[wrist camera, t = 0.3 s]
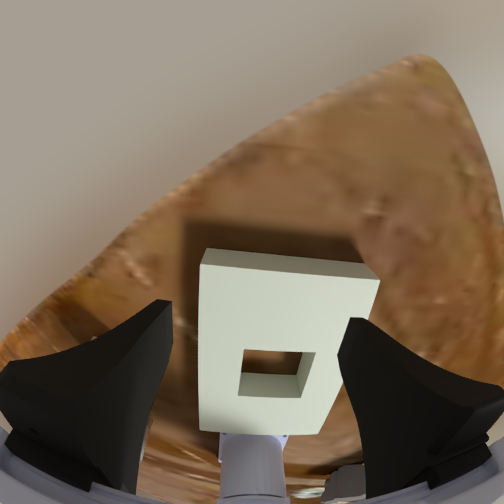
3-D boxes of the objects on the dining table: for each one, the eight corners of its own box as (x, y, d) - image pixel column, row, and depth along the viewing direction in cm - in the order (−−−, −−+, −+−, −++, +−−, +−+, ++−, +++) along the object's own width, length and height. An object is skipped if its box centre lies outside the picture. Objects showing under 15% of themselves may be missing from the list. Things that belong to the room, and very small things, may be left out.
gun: (335, 426, 41) (317, 500, 29) (472, 402, 29) (477, 483, 17) (339, 433, 42) (322, 504, 30) (469, 411, 30) (473, 487, 18)
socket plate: (313, 413, 27) (317, 433, 24) (202, 408, 26) (199, 430, 23) (364, 263, 21) (380, 280, 18) (206, 247, 20) (200, 263, 17)
